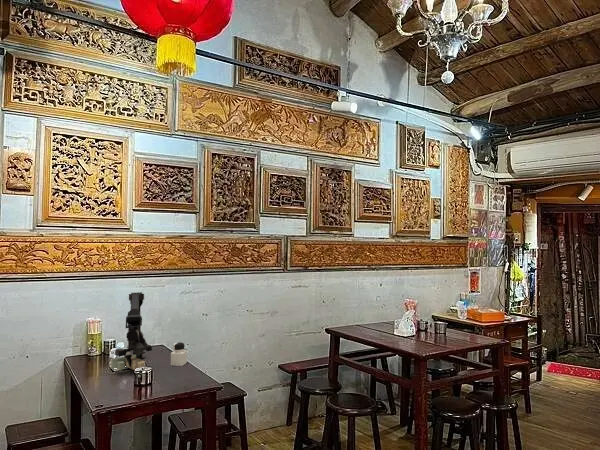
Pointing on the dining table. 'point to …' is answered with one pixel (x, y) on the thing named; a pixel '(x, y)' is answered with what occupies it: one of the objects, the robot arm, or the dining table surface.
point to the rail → (134, 363)
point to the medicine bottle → (178, 355)
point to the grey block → (118, 363)
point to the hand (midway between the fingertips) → (133, 366)
